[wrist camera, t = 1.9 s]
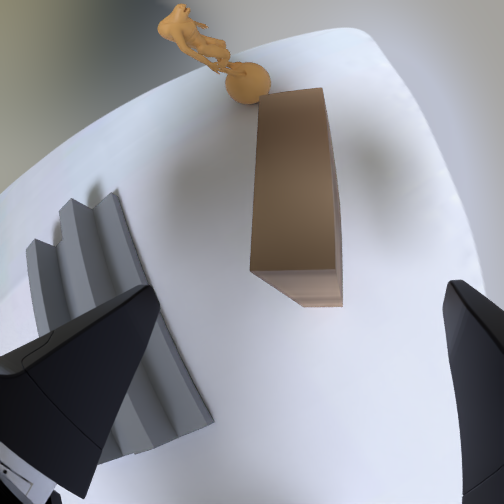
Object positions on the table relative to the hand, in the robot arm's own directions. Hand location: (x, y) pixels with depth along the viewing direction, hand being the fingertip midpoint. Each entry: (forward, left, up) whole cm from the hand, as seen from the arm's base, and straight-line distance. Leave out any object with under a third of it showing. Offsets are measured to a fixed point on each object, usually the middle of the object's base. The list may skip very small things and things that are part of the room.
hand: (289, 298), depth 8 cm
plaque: (+4, -1, -11) cm, 12 cm away
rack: (+3, +19, -11) cm, 22 cm away
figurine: (+20, +1, -11) cm, 23 cm away
